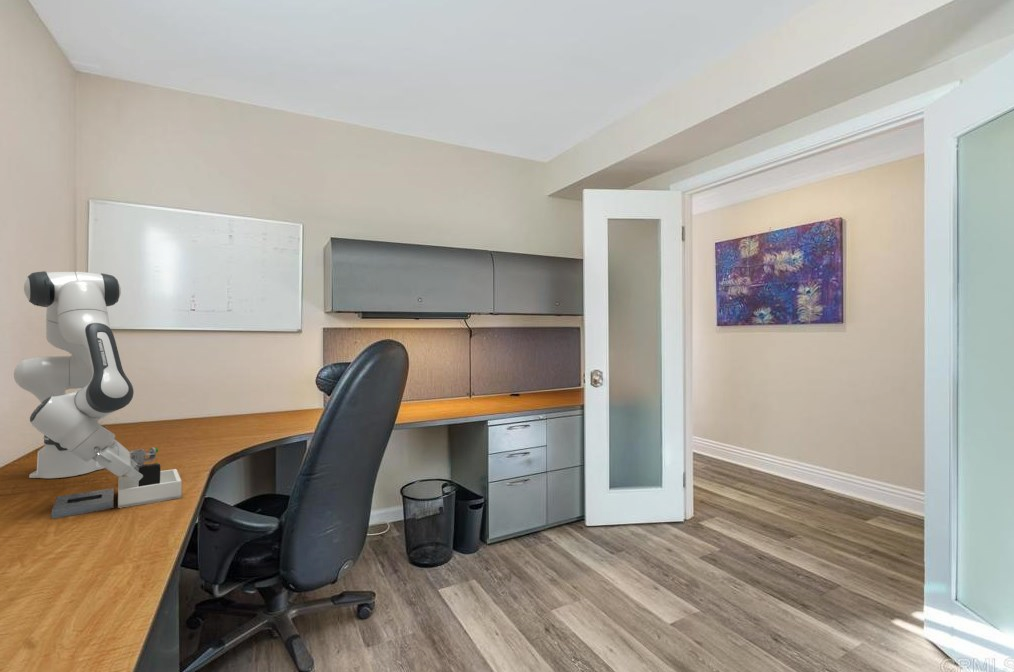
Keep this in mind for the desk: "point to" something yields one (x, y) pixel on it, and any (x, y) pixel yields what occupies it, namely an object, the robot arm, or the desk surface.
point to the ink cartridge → (149, 474)
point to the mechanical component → (143, 455)
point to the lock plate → (83, 503)
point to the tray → (149, 490)
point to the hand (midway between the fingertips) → (140, 474)
